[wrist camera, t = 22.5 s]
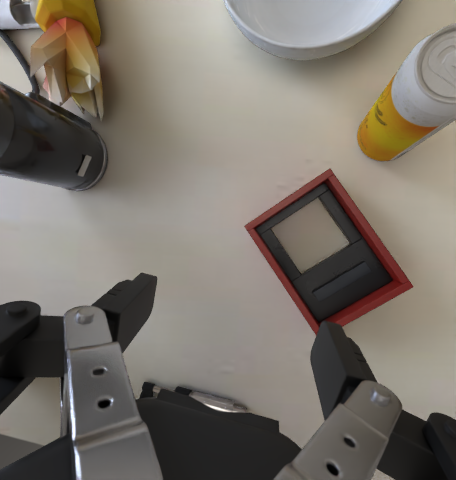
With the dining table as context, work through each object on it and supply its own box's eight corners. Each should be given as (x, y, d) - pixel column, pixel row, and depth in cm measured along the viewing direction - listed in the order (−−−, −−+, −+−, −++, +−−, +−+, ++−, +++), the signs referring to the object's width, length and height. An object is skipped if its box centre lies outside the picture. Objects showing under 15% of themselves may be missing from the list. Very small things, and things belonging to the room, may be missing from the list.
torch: (105, -21, 44) (107, 131, 41) (47, -33, 42) (45, 127, 39) (96, -86, 36) (98, 97, 33) (24, -105, 34) (19, 89, 31)
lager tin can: (385, 100, 33) (465, -4, 19) (423, 136, 33) (536, 58, 18) (344, 137, 34) (389, 65, 20) (380, 173, 34) (453, 127, 19)
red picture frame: (247, 226, 37) (244, 226, 34) (325, 174, 35) (330, 168, 32) (315, 329, 36) (319, 339, 32) (400, 281, 34) (414, 286, 30)
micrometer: (139, 420, 41) (129, 433, 38) (145, 373, 41) (136, 383, 38) (240, 451, 38) (236, 466, 36) (247, 401, 38) (245, 412, 35)
